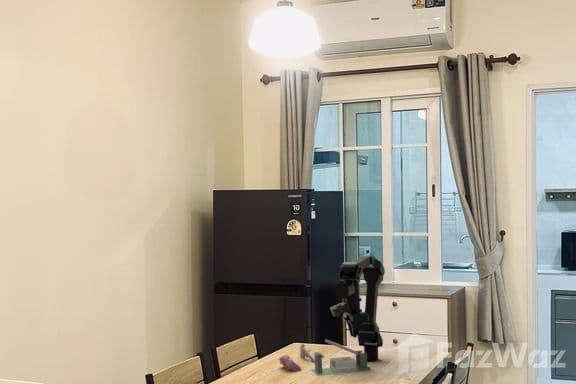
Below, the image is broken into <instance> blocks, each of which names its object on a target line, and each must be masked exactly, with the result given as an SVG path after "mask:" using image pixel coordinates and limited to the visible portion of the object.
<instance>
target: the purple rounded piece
mask: <svg viewBox="0 0 576 384" xmlns="http://www.w3.org/2000/svg"><path fill="white" fill-rule="evenodd" d="M278 360H279V365H282V366H283V367H284V368H285V369H286V370H287V371H290V372H291V371H294V372H301V371H302V367H301V366H300V364H297V363H296V362H295V361H294V360H293V359H292V357H290V355H282V356H281V357H279V359H278Z"/></svg>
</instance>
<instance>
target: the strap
mask: <svg viewBox="0 0 576 384" xmlns="http://www.w3.org/2000/svg"><path fill="white" fill-rule="evenodd" d="M324 343H327V344H328V345H332V346H334V347H337V348H338V349H341V350H345V351H347V352H349V353H352V354H354V355H355V356H356V355H358V356H360V353H361V352H357V351H358V350H355V349H351V348H350V347H347V346H344V345H342V344H339V343H337V342H334V341H331V340H329V339H327V338H325V340H324Z"/></svg>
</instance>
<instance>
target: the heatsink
mask: <svg viewBox="0 0 576 384" xmlns="http://www.w3.org/2000/svg"><path fill="white" fill-rule="evenodd" d="M329 368H330V369H331V370H333V371H334V372H335V373H341V374H344V373H343V372H352V373H355V372H354V371H357V368H356V359H355V358H352V357H351V356H341V357H340V356H339V357H331V358H329Z"/></svg>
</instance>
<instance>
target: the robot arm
mask: <svg viewBox="0 0 576 384" xmlns="http://www.w3.org/2000/svg"><path fill="white" fill-rule="evenodd" d="M385 269H386V268H385V267H384V264H383V262H381V261H380V260H378V258H376V257H375V255H373V254H361V256H360V257H358V258H356V259H354V261H346V262H345V261H344V262H343V263H341V265H340V269H339V271H338V273H339V274H338V277H337V282H338V283H337V285H335V287H334V294H335V296H336V298H338V299H340V300H342V302H340V303H337V304H335V305H333V306H330V307H329V310H330V312H331V314H332V316H333V317H335V318H336V317H339V316H340V317H341V316H342V315H343V317H341V318H342V320H343V321H345V322H346V325H347V328H348V331H349V336H350V337H352V338H354V339H355V338H357V340H358V341H357V342H358V346H359V347H363V353H367V363H372V362H373V363H374V362H381V361H382V360H381V359H380V358H379V348H381V347H384V346H383V344H384V342H383V341H384V339H383V337H382V335H381V333H380V327H379V325H378V322H377V311H378V310H377V307H378V298H379V297H378V296H379V286H380V285H381V283H382V282H383V280H384V275H385V273H386V271H385ZM362 275H363V280H364V281H365V284H366V289H365V290H366V293H365V305H364V311H363V309H361V302H362V298H361V296H360V294H361V291H360V283H361V280H360V279H361V277H362Z"/></svg>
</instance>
